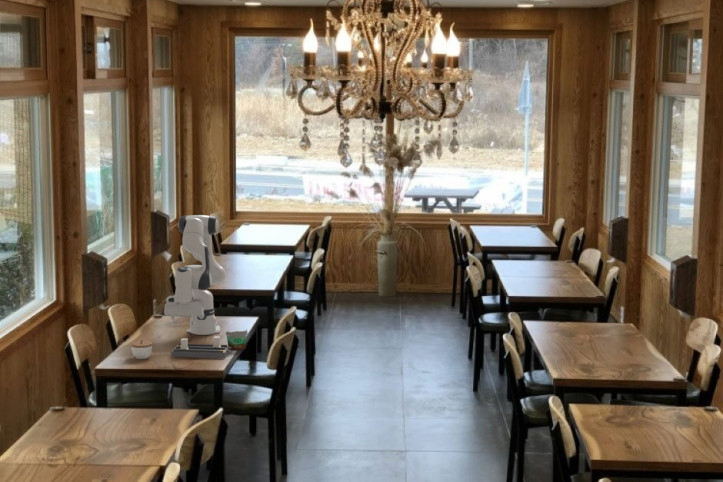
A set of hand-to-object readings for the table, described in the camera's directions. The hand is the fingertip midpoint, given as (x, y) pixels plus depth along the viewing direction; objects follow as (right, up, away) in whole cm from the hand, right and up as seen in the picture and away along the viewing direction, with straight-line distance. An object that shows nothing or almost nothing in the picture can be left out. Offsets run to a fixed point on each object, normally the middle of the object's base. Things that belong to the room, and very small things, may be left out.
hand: (184, 324), depth 558 cm
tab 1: (0, -13, +2) cm, 14 cm away
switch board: (+8, -16, +6) cm, 19 cm away
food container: (+26, -15, +17) cm, 35 cm away
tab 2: (+16, -13, +8) cm, 22 cm away
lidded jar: (-21, -17, -2) cm, 28 cm away
